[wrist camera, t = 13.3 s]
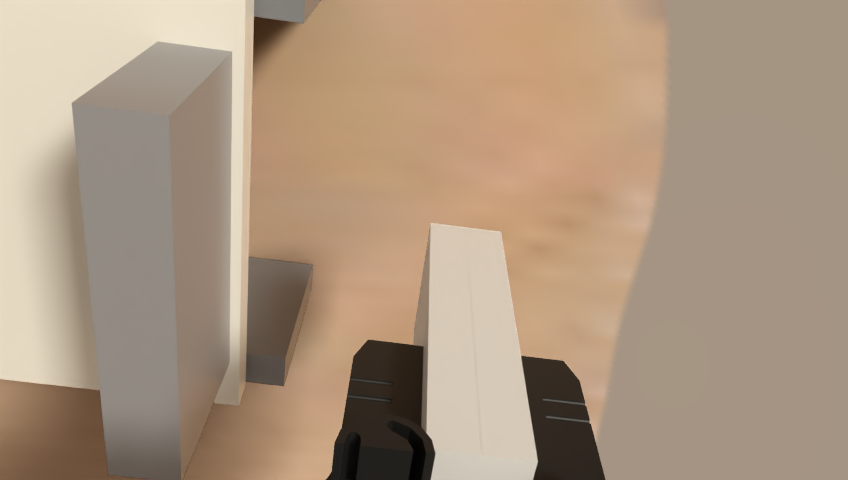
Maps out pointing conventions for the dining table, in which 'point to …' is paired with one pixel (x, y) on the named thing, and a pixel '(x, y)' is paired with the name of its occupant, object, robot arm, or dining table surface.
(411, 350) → the robot arm
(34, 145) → the lid
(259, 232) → the dining table surface
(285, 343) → the housing
